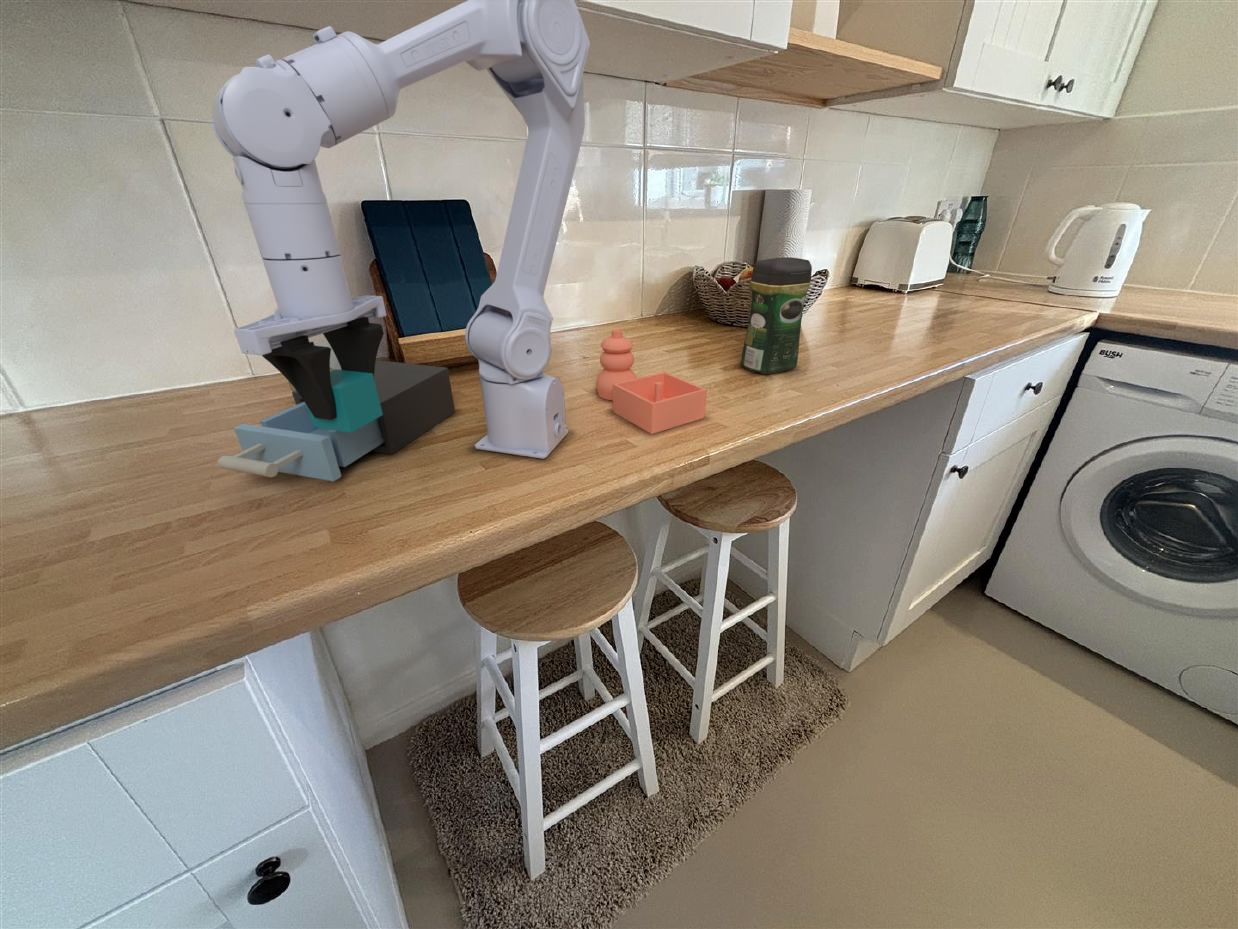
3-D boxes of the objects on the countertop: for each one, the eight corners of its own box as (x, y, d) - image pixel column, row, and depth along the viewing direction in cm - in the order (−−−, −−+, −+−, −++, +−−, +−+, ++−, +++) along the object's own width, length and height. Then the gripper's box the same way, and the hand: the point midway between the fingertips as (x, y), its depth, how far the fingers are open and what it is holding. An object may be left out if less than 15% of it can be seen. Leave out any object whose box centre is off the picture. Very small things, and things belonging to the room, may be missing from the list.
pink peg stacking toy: (704, 417, 69) (711, 348, 65) (651, 434, 65) (654, 361, 60) (629, 382, 82) (630, 322, 77) (580, 393, 77) (578, 330, 73)
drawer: (298, 504, 48) (282, 461, 46) (209, 487, 51) (190, 445, 48) (408, 433, 62) (400, 397, 60) (334, 422, 65) (324, 388, 63)
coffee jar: (772, 358, 94) (789, 253, 85) (803, 370, 88) (824, 258, 79) (732, 365, 91) (745, 256, 82) (760, 378, 84) (778, 261, 75)
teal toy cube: (383, 415, 50) (372, 373, 48) (351, 433, 46) (338, 388, 44) (346, 410, 51) (335, 369, 49) (313, 427, 47) (298, 383, 45)
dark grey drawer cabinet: (392, 454, 59) (380, 403, 56) (308, 441, 62) (291, 391, 59) (455, 412, 71) (447, 367, 67) (381, 402, 74) (370, 359, 70)
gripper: (329, 246, 48) (363, 379, 55) (177, 265, 36) (245, 433, 43) (390, 249, 47) (418, 385, 53) (253, 269, 34) (311, 443, 41)
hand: (345, 407), depth 48 cm, fingers closed on teal toy cube, 4 cm apart
